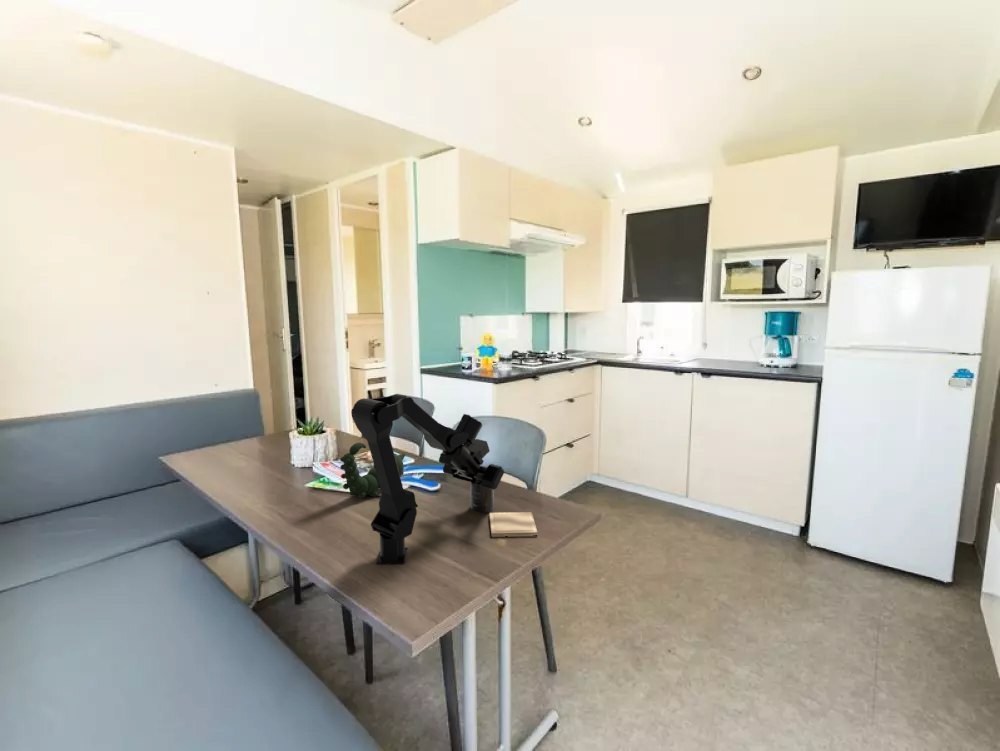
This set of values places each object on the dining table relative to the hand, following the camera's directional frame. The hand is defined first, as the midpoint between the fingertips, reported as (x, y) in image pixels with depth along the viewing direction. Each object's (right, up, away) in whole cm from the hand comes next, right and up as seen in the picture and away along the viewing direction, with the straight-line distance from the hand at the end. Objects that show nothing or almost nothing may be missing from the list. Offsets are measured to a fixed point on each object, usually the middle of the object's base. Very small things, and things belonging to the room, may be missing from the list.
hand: (485, 484), depth 139 cm
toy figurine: (-35, -5, +12) cm, 37 cm away
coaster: (+8, -9, -10) cm, 16 cm away
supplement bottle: (-1, -7, 0) cm, 7 cm away
